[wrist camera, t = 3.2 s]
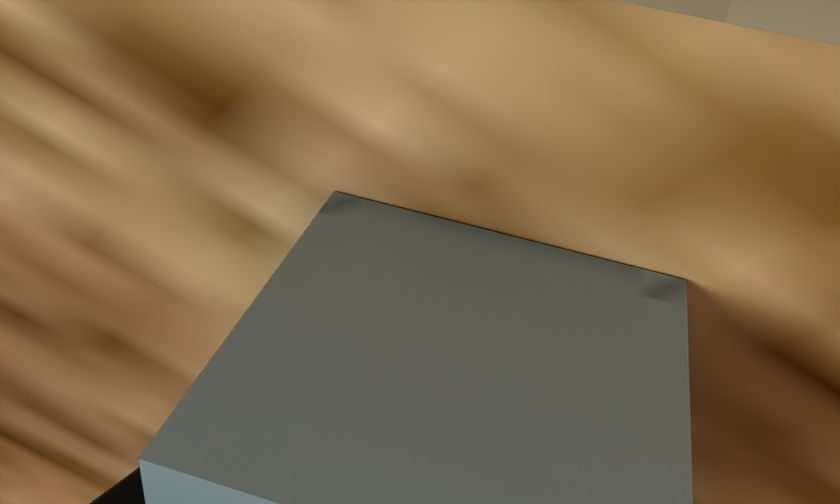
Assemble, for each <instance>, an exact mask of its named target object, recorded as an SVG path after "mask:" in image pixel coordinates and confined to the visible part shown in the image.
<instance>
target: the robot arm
mask: <svg viewBox="0 0 840 504" xmlns="http://www.w3.org/2000/svg"><path fill="white" fill-rule="evenodd" d="M90 504H146V503H145V497H144V491H143V485H142V478H141V472H140V467H139V468H137V469H136V470H135V471H133V472H132V473H131V474H129V475H128V476H127V477H125V478H124V479H123V480H121V481H120V482H119V483H117V484H116V485H114V486H113V487H112V488H110V489H109V490H108V491H106V492H105V493H103V494H102V495H101V496H99V497H98V498H97V499H95V500H94V501H92V502H91V503H90Z"/></svg>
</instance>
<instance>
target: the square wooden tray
mask: <svg viewBox="0 0 840 504" xmlns="http://www.w3.org/2000/svg"><path fill="white" fill-rule="evenodd" d="M616 1H621V2H626V3H631V4H636V5H641V6H646V7H651V8H656V9H660V10H665V11H670V12H675V13H680V14H685V15H690V16H695V17H700V18H705V19H710V20H715V21H720V22H725V23H730V24H735V25H740V26H745V27H750V28H755V29H760V30H765V31H770V32H775V33H780V34H785V35H790V36H795V37H800V38H805V39H810V40H815V41H820V42H825V43H830V44H835V45H840V0H616Z"/></svg>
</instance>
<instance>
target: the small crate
mask: <svg viewBox="0 0 840 504" xmlns="http://www.w3.org/2000/svg"><path fill="white" fill-rule="evenodd" d="M138 460H139V466H140V472H141V478H142V485H143V491H144V497H145V503H146V504H693V485H692V451H691V416H690V381H689V347H688V312H687V280H684V279H680V278H676V277H672V276H668V275H664V274H660V273H656V272H652V271H648V270H644V269H640V268H636V267H632V266H628V265H624V264H620V263H616V262H612V261H609V260H605V259H601V258H597V257H593V256H589V255H585V254H581V253H577V252H573V251H569V250H565V249H561V248H557V247H553V246H549V245H545V244H541V243H537V242H533V241H529V240H525V239H521V238H517V237H513V236H509V235H505V234H501V233H497V232H493V231H489V230H485V229H481V228H477V227H474V226H470V225H466V224H462V223H458V222H454V221H450V220H446V219H442V218H438V217H434V216H430V215H426V214H422V213H418V212H414V211H410V210H406V209H402V208H398V207H394V206H390V205H386V204H382V203H378V202H374V201H370V200H366V199H362V198H358V197H354V196H350V195H346V194H343V193H339V192H335V191H334V192H333V193H332V195H331V196H330V197H329V199H328V200H327V201H326V203H325V204H324V205H323V207H322V208H321V210H320V211H319V212H318V214H317V215H316V216H315V218H314V219H313V221H312V222H311V223H310V225H309V226H308V227H307V229H306V230H305V231H304V233H303V234H302V236H301V237H300V238H299V240H298V241H297V242H296V244H295V245H294V246H293V248H292V249H291V251H290V252H289V253H288V255H287V256H286V257H285V259H284V260H283V262H282V263H281V264H280V266H279V267H278V268H277V270H276V271H275V272H274V274H273V275H272V277H271V278H270V279H269V281H268V282H267V283H266V285H265V286H264V288H263V289H262V290H261V292H260V293H259V294H258V296H257V297H256V298H255V300H254V301H253V303H252V304H251V305H250V307H249V308H248V309H247V311H246V312H245V313H244V315H243V316H242V318H241V319H240V320H239V322H238V323H237V324H236V326H235V327H234V329H233V330H232V331H231V333H230V334H229V335H228V337H227V338H226V339H225V341H224V342H223V344H222V345H221V346H220V348H219V349H218V350H217V352H216V353H215V355H214V356H213V357H212V359H211V360H210V361H209V363H208V364H207V365H206V367H205V368H204V370H203V371H202V372H201V374H200V375H199V376H198V378H197V379H196V380H195V382H194V383H193V385H192V386H191V387H190V389H189V390H188V391H187V393H186V394H185V396H184V397H183V398H182V400H181V401H180V402H179V404H178V405H177V406H176V408H175V409H174V411H173V412H172V413H171V415H170V416H169V417H168V419H167V420H166V422H165V423H164V424H163V426H162V427H161V428H160V430H159V431H158V432H157V434H156V435H155V437H154V438H153V439H152V441H151V442H150V443H149V445H148V446H147V447H146V449H145V450H144V452H143V453H142V454H141V456H140V457H139V458H138Z"/></svg>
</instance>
